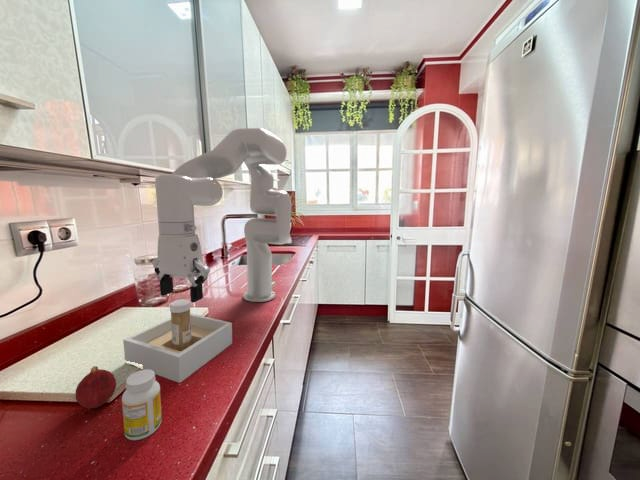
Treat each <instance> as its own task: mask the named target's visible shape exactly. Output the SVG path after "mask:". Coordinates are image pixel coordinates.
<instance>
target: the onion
mask: <svg viewBox="0 0 640 480" xmlns="http://www.w3.org/2000/svg"><path fill="white" fill-rule="evenodd" d="M116 388H117V380H116V377H115V375H114V374H113V372H111V371H109V370H107V369H99V367H98V366H96V365H94V366H92V367H91V368H90V372H89V373H87V374H86V375H85V376H84V377H83V378H82V379H80V381H79V383H78V384H77V386H76V388H75V400H76V402H77V404H79V405H80V406H82V407H83V408H88V409H96V408H100V407H101V406H102V405H104V404H105V403H107V402H108V401H109V400H110V399H111V398H112V397H113V395H114V393H115V391H116V390H117V389H116Z"/></svg>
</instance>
